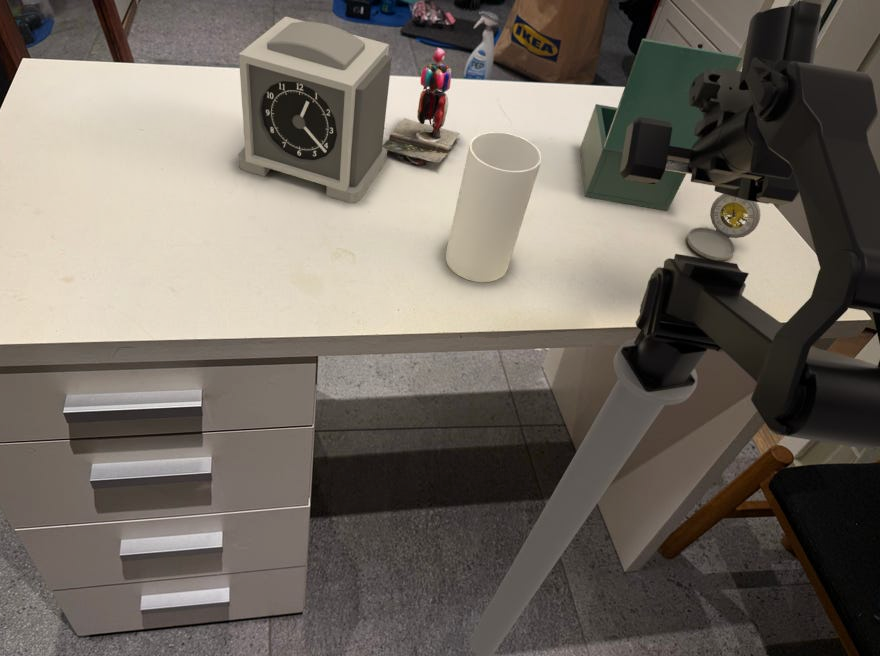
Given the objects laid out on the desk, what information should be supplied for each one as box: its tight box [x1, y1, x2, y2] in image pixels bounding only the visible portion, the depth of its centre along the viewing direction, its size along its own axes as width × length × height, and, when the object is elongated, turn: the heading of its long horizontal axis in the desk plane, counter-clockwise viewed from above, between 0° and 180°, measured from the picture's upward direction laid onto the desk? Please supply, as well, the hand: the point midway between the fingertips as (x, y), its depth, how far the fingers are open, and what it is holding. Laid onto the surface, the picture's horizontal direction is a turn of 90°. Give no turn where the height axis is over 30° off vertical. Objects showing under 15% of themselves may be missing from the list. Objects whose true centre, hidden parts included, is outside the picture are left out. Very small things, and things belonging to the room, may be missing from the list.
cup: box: [445, 131, 542, 283], centre depth 80 cm, size 8×8×16 cm
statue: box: [382, 47, 461, 166], centre depth 98 cm, size 11×9×15 cm
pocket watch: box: [686, 193, 761, 261], centre depth 91 cm, size 8×8×10 cm
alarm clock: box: [237, 16, 393, 204], centre depth 89 cm, size 18×13×18 cm
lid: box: [604, 38, 743, 151], centre depth 88 cm, size 14×13×1 cm
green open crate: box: [579, 103, 690, 211], centre depth 100 cm, size 14×13×8 cm
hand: (678, 180), depth 79 cm, fingers open, 9 cm apart
